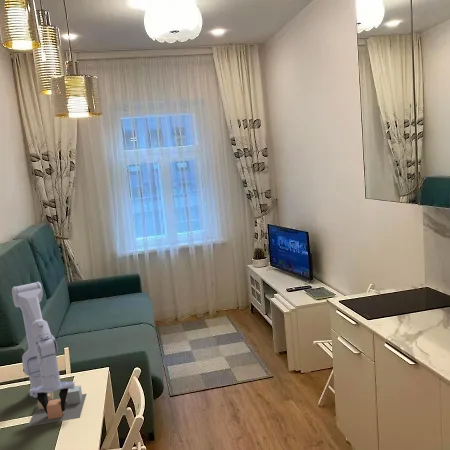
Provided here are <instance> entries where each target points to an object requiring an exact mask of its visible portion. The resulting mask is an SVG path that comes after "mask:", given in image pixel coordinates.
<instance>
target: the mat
mask: <svg viewBox="0 0 450 450" xmlns="http://www.w3.org/2000/svg"><path fill="white" fill-rule="evenodd" d="M86 397H87V393H82V400H81V403H76V404H70V405H68V403H67V397H66V403H65V411H64V413H63V416H62V417H59V418H53V419H48V414H46V411H45V409H40V410H39V407H38V405H37V406H36V408H35V410H34V412H33V414H32V417H31V418H30V420H29V422H28V424H27V427H30V428H31V427H34V426H40V425H45V424H46V425H47V424H50V423H51V424H52V423H57V422H63V421H69V420H76V419H80V418H81V415H82V411H83V409H84V408H83V407H84V404H85V402H86V401H85V400H86ZM56 399H60V397H58V398H54V400H56ZM27 427H26V428H27Z"/></svg>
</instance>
